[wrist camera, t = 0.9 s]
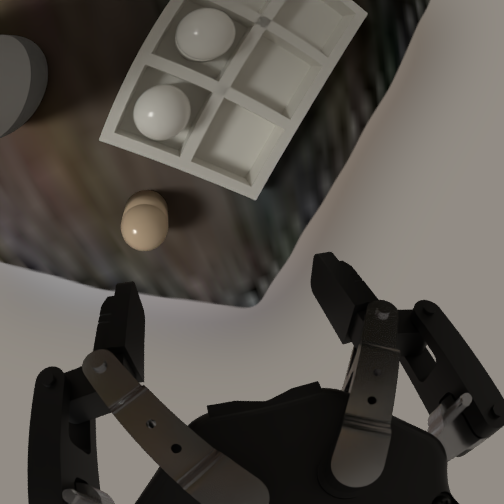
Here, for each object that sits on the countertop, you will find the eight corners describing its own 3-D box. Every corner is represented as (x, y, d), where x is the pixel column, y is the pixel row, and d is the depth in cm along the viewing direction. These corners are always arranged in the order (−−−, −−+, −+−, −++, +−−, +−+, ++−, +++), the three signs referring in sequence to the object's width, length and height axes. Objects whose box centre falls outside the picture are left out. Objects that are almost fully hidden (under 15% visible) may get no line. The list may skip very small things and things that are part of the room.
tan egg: (119, 222, 28) (112, 252, 23) (133, 183, 26) (126, 207, 22) (158, 235, 30) (158, 266, 25) (174, 198, 28) (176, 224, 24)
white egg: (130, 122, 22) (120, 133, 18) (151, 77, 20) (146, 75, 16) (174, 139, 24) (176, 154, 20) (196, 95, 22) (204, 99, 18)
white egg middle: (165, 51, 19) (164, 43, 15) (191, 10, 18) (197, -8, 13) (210, 70, 21) (222, 67, 17) (235, 30, 20) (252, 18, 15)
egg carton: (106, 133, 22) (99, 140, 20) (222, -59, 14) (229, -72, 12) (247, 188, 29) (255, 200, 27) (349, 16, 21) (367, 13, 19)
